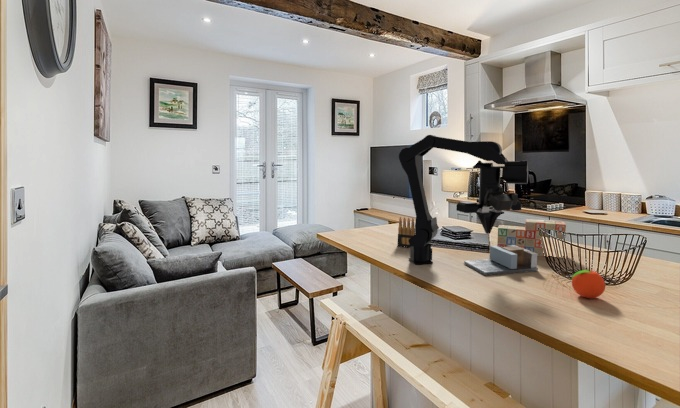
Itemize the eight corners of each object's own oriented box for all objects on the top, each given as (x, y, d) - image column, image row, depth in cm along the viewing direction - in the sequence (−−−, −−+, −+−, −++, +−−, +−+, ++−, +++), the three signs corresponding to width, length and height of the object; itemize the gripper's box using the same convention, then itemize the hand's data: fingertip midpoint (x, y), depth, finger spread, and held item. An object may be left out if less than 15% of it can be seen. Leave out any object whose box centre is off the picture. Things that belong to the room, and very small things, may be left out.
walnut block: (509, 265, 111) (509, 250, 110) (501, 261, 115) (501, 247, 114) (523, 264, 112) (523, 249, 111) (514, 260, 116) (515, 246, 115)
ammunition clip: (397, 246, 142) (397, 217, 140) (399, 245, 143) (399, 216, 142) (422, 249, 136) (423, 219, 134) (424, 248, 138) (424, 218, 136)
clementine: (578, 303, 85) (580, 275, 84) (560, 292, 92) (562, 266, 91) (611, 302, 85) (613, 274, 84) (590, 291, 92) (593, 265, 91)
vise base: (485, 275, 105) (485, 258, 104) (464, 263, 117) (464, 247, 116) (537, 271, 108) (538, 253, 108) (512, 260, 120) (512, 244, 119)
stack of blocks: (496, 252, 131) (497, 219, 129) (497, 248, 136) (499, 217, 134) (564, 258, 121) (566, 224, 119) (562, 254, 126) (564, 220, 124)
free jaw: (510, 269, 107) (511, 254, 106) (489, 258, 118) (490, 245, 117) (516, 268, 107) (517, 254, 107) (494, 258, 118) (495, 245, 118)
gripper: (476, 186, 96) (474, 241, 98) (536, 184, 100) (533, 237, 102) (456, 183, 107) (454, 233, 109) (510, 181, 110) (508, 229, 113)
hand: (487, 233), depth 108 cm, fingers closed
